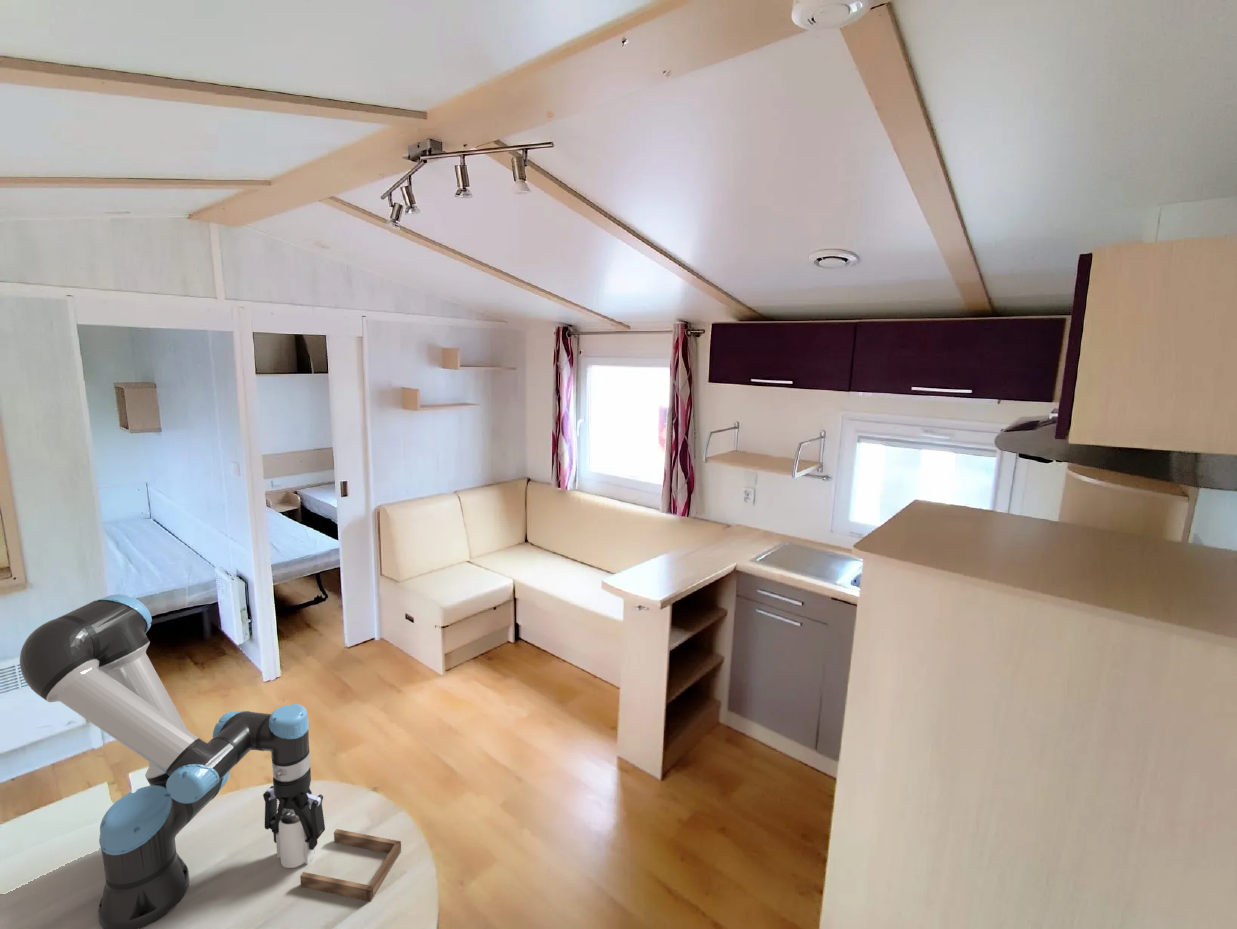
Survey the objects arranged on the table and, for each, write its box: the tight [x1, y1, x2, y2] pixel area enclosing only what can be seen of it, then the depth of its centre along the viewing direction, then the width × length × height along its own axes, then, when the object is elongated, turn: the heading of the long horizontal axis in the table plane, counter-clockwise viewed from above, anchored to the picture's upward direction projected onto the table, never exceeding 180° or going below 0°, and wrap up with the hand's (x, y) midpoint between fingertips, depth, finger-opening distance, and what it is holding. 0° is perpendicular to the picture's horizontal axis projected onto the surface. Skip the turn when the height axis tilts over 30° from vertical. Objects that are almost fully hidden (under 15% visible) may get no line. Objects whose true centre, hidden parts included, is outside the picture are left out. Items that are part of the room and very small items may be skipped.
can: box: [279, 809, 306, 869], centre depth 135 cm, size 6×6×12 cm
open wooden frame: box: [299, 828, 402, 902], centre depth 134 cm, size 17×13×3 cm
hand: (296, 855), depth 136 cm, fingers closed on can, 6 cm apart
